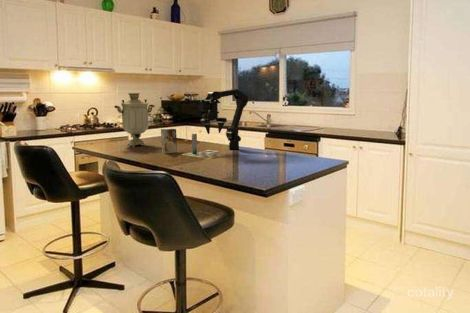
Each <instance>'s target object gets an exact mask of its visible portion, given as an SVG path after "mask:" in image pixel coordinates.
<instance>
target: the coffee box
mask: <svg viewBox="0 0 470 313" xmlns="http://www.w3.org/2000/svg"><path fill="white" fill-rule="evenodd" d="M160 134H161V136H160V137H161V153H163V154H171V153H172V154H173V153H178V142H177V141H178V138H177V129H176V128H163V129H160Z"/></svg>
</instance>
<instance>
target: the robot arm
mask: <svg viewBox="0 0 470 313" xmlns="http://www.w3.org/2000/svg"><path fill="white" fill-rule="evenodd" d="M230 96H233V98H234V99H235V100H236V101H235V104H236V107H235V111H234V115H233V118H232V120H231V125H230V127H227V128H226V131H225V137H226V138H227V140H228V141H229V143H228V148H229V150H230V151H239V150H240V142H241V140H242V137H240V135H239V124H240V122H241V117H242V115H243V111H244V108H245V107H247V104H248V102H249V96H248V95H246V94H244V93H243V92H242V91H240V90H239V89H237V88H231V89H227V90H221V91H213V90H211V91H208V92H207V96H206V97H205V98H204V100H199V102H198V105H197V106H198V107H197V108H198V111H200V112H205V111H207V114H206V113H202V115H201V119H200V120H199V123H200V125H203V126H204V128H205V129H206V132H207V135H210V132H211V131H210V130H211V124H210V123H217V127H218V128H217V130H218V133H219V134H220V133H221V131H222V128H223V127H224V126H225V124H226V123H227V122H228V120H227V118H226V117H219V115H218V114H220V111H218V108H219V106H218V104H221V101H219V100H221V98H224V97H230Z"/></svg>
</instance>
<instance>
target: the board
mask: <svg viewBox="0 0 470 313" xmlns="http://www.w3.org/2000/svg"><path fill="white" fill-rule="evenodd" d="M181 155H183V156H189V157H195V158H196V157H197V158H201V159H203V158H204V159H216V158H219V157H222V155H220V151H219V150H214V149H212V150H211V149H206V150H202V151H199V152H198V151H197V154H192V151H191V152H187V153H182V154H181Z"/></svg>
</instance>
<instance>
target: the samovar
mask: <svg viewBox="0 0 470 313" xmlns="http://www.w3.org/2000/svg"><path fill="white" fill-rule="evenodd" d="M127 94H128V95H129V98H130V99H129V100H127V101H125V99H122V100H121V102H120V104H121V106H120V105H114V106H113V107H114V108H115V109H116V110H117V112H118V113H119V114H121V121H122V129H123V130H124V132H126V133H128V134H130V135H131V138H132V139H131V140H129V142H128V143H127V145H128V146H129V145H131V148H135V146H137V145H143V146H146V147H147V145H146V144H145V143H144V141H143V140H142V139H141V136H142V134H144V133H145V132H146V131H147V130H148V129H149V126H150V125H149V124H150V123H149V114H150V113H152V111H153V108H155V107H156V106H155V105H154V104H149V103H148V102H147V101H148V99H146V98H145V99H144V101H142V100H140V99H139V98H140V94H141V93H140V92H130V93H127ZM121 107H122V108H121ZM127 145H126V146H127Z"/></svg>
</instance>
